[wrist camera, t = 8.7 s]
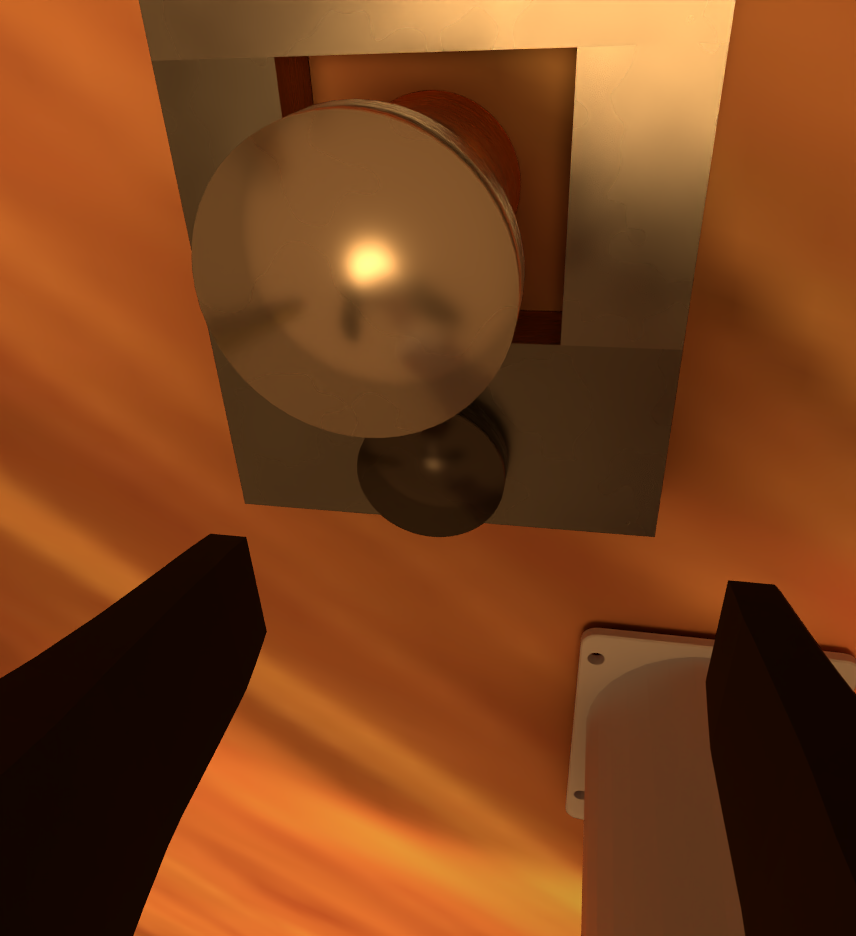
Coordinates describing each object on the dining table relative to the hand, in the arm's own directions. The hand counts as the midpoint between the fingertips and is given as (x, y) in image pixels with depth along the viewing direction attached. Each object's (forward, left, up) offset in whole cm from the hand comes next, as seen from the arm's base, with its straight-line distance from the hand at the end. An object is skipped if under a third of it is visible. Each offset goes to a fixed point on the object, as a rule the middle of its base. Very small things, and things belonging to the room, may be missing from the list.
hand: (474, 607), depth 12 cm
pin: (+4, +2, -9) cm, 10 cm away
